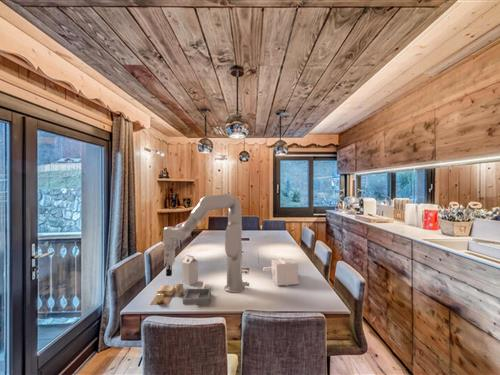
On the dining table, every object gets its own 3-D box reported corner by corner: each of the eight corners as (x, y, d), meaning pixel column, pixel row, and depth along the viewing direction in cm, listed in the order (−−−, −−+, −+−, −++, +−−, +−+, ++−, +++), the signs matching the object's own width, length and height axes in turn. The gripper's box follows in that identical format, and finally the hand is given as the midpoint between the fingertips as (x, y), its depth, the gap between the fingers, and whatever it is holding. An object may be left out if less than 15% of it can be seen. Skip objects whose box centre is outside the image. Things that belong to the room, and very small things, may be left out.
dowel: (183, 295, 153) (183, 283, 153) (182, 298, 149) (182, 286, 149) (176, 295, 153) (176, 284, 153) (175, 298, 149) (175, 286, 149)
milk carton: (191, 281, 176) (191, 253, 175) (197, 283, 171) (197, 255, 171) (182, 284, 170) (182, 255, 170) (189, 287, 166) (188, 257, 165)
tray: (211, 294, 155) (211, 288, 155) (209, 305, 141) (209, 298, 141) (187, 295, 154) (187, 289, 154) (182, 306, 140) (182, 299, 140)
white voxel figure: (292, 273, 195) (306, 284, 168) (260, 275, 191) (269, 287, 164) (292, 253, 196) (306, 261, 169) (260, 255, 192) (268, 263, 165)
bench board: (177, 289, 162) (177, 287, 162) (168, 306, 139) (168, 304, 139) (161, 289, 162) (161, 288, 161) (149, 307, 139) (149, 305, 139)
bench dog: (164, 301, 143) (164, 292, 143) (162, 304, 139) (162, 295, 139) (157, 301, 143) (157, 292, 143) (155, 304, 139) (155, 295, 139)
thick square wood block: (174, 290, 158) (174, 285, 158) (171, 295, 150) (171, 290, 150) (161, 290, 158) (161, 285, 158) (157, 296, 150) (157, 291, 150)
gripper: (172, 249, 156) (172, 280, 156) (178, 243, 171) (177, 271, 171) (160, 249, 155) (159, 280, 156) (166, 243, 170) (165, 271, 170)
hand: (168, 275), depth 163 cm, fingers closed
